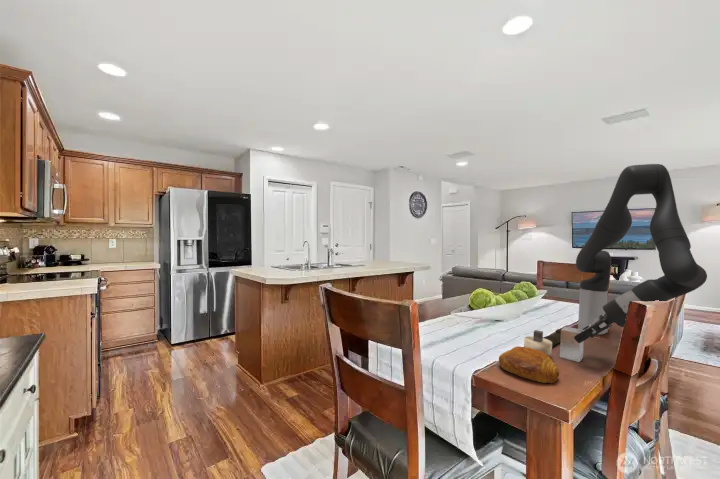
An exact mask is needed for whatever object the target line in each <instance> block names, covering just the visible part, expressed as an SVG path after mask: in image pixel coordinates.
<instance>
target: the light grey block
mask: <svg viewBox="0 0 720 479" xmlns="http://www.w3.org/2000/svg"><path fill="white" fill-rule="evenodd" d="M561 328H562V329H561ZM561 328H560V329H561V340H560V342H559V358H562V359H564V360H565V359H566V360H569V361H573V362H576V363H577V362H578V363H580V362H581V361H582V359H583V358H584V345H585V344H584V343H585V342H584V341H585V340H584V341H583V342H581V343H578V342H577V341H576V340H575V339H574V337H575V336H576V335H578V334H579V333H581V332H583V331H584V330H581V329H578V328H575V327H570V326H564V327H561Z"/></svg>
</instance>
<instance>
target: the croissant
mask: <svg viewBox="0 0 720 479" xmlns="http://www.w3.org/2000/svg"><path fill="white" fill-rule="evenodd" d="M498 363H499V366H500V367H501V368H502V369H503V370H504V371H506V372H509V373H511V374H513V375H515V376H518V377H521V378H524V379H528V380H529V381H535V382H538V383H544V384H545V383H549V384H553V383H555V382H556V381H557V380H559V379H558V378H559V377H560V370H559V368H558V366H557V365H556V363H555V361H554V360H553V359H552V358H551V357H550V356H549V355H547V354H546V353H544V352H542V351H539V350H535V349H532V348H526V347H524V346H519V345H518V346H515V347H512V348H511V349H510V350H507V351H505V352H503V353H501V354H500V355H498Z"/></svg>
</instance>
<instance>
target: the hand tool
mask: <svg viewBox="0 0 720 479" xmlns="http://www.w3.org/2000/svg"><path fill="white" fill-rule="evenodd" d="M562 328H563V327H561V328H559V329H558V328H557V329H556V330H555V332H554V333H552V334H550V335H548V336H545V337H544V338H545V339H548V340H550V341H551V342H552V347H553V346H556V345H557V344H560V340H561V329H562Z"/></svg>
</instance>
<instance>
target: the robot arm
mask: <svg viewBox="0 0 720 479" xmlns="http://www.w3.org/2000/svg"><path fill="white" fill-rule="evenodd" d="M613 188H614V189H613V191H612V193H611V196H610V198H609V200H608V203H607V205H606V207H605V208H604V210H603V212H602V214H601V216H599V219H598V221H597V223H596V224H595V227H594V228H593V231H592V233H591V234H590V236H589V238H588V239H587V241H586V242H585V244H584V245H583V246H582V248H580V250H579V252H578V254H577V255H576V259H575V266H576V269H577V270H578V271H579V272H581V273H589V274H595V275H594V276H592V277H591V278H588V279H585V280H582V281H580V283H579V301H578V322H577V323H578V325H577V329H581V330H584V331H583V332H581V333H579V334H578V335H576V336H575V337H574V339H575V340H576V341H577V342H578V343H581V342H583V341H586V340H587V339H592V338H594V337H595V336H598V335H605V334H608V330H609V329H611V328H612V326H613V324H616V325H617V326H618V327H620V328H625V327H624V324H625V319H626V315H627V310H628V304H629V301H655V300H659V301H666V302H668V301H670V300H673V299H676V298H678V297H681V296H683V295H686V294H689V293H691V292H693V291H695V290H697V289H699V288H700V287H702V286H703V285H704V284H705V283H706V281H707V280H708V279H707V278H708V274H707V271H706V270H705V269H704V268H703V267H702V266H700V265H699V264H698V263H697V262H696V259H695V258H694V256H693V253H692V252H691V248H692V245H691V241H690V240H689V236H688V235H687V233H686V229H685V228H684V227H683V226H684V225H683V223H682V221H681V219H680V216H679V212H678V207H677V203H676V196H675V192H674V187H673V183H672V178H671V176H670V173H669V171H668V169H667V167H666V166H665V165H663V164H660V163H647V164H646V163H645V164H634V165H633V164H632V165H628V166H627V167H625V168H624V169H622V171H621V173H620V175H619V176H618V178H617V181H616V184H615V186H614V187H613ZM635 195H638V196H639V195H652V196H653V198H654V199H655V204H656V205H655V210H654V212H653V215H652V217H651V220H650V224H649V231H650V235H651V237H652V241H653V243H654V245H655V248H656V250H657V252H658V258H659V264H660V268H661V271H662V273H663V274H664V275H662V276H660V277H658V278H655V279H646V280H644V281H642V282H640V283H639V284H638V285H636V286H634V287H632V288H631V289H630V290H627V291H625V292H623V293H621V294H620V295H618V296H617V297H615V298H613V299H612V300H611V301H610V300H609V302H608V288H609V285H610V277H611V276H610V275H611V268H612V258H611V254H610V252H609V251H606V249H607V248H609V247H611V246H613V245H615V244H617V243H618V242H620V241H621V240H622V239H624V237H625V236H626V234H627V233H628V231H629V230H630V228H631V227H632V223H633V218H632V215H631V212H630V209H629V207H628V204H629V202H630V200H631V199H632V197H634V196H635Z"/></svg>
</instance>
